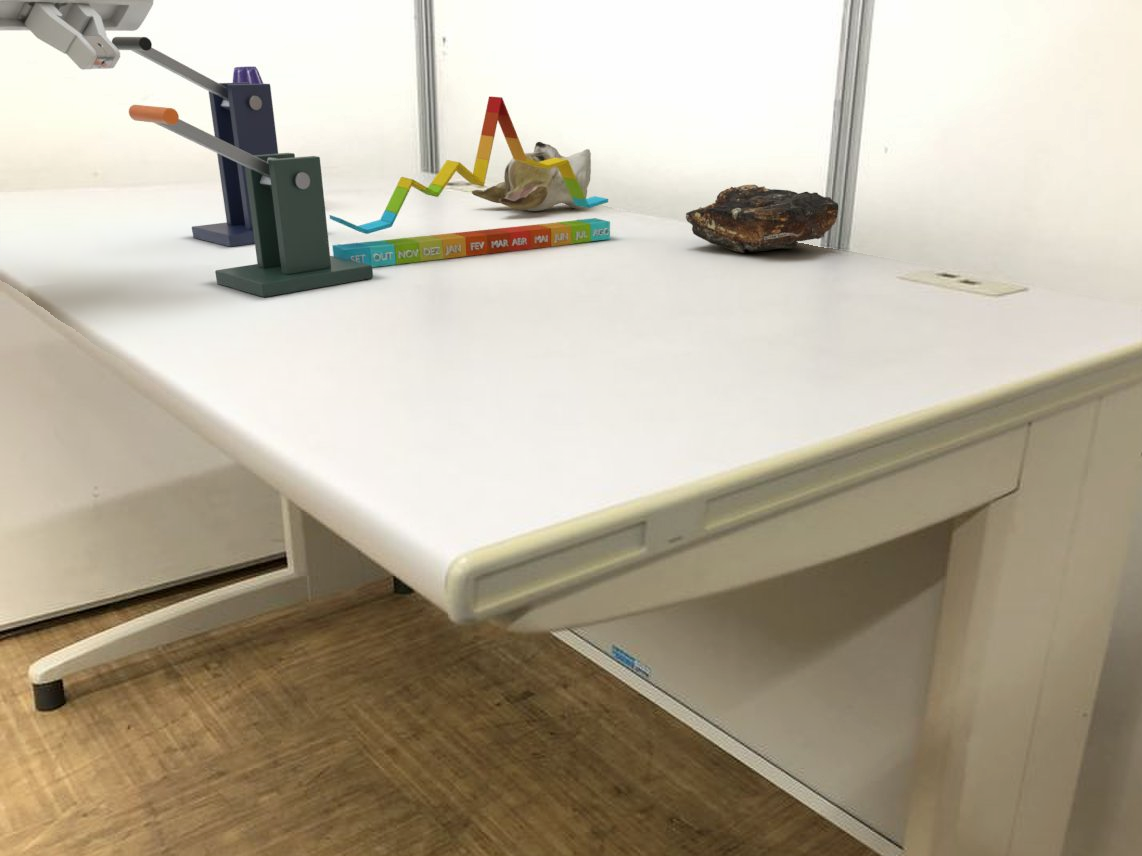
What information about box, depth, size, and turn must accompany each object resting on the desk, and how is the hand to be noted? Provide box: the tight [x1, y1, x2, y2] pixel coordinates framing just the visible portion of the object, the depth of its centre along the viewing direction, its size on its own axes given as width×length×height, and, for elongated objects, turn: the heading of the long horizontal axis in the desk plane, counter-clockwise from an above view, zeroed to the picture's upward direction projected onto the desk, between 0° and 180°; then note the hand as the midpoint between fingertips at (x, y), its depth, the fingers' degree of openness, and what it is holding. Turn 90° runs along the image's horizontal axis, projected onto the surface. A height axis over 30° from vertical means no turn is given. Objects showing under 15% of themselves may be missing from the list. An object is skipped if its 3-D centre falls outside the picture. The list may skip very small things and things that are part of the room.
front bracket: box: [214, 152, 374, 298], centre depth 93 cm, size 11×8×11 cm
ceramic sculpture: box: [471, 141, 592, 212], centre depth 135 cm, size 11×9×15 cm
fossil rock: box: [685, 184, 839, 254], centre depth 112 cm, size 14×14×6 cm
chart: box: [329, 96, 611, 268], centre depth 106 cm, size 30×3×15 cm, turn 126°
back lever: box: [111, 36, 230, 111], centre depth 107 cm, size 14×6×2 cm, turn 138°
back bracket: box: [191, 82, 279, 248], centre depth 114 cm, size 11×8×16 cm
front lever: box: [128, 104, 277, 189], centre depth 88 cm, size 14×6×2 cm, turn 138°
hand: (103, 63), depth 79 cm, fingers closed
